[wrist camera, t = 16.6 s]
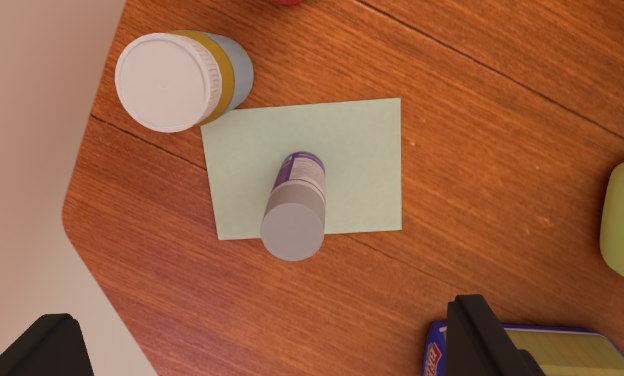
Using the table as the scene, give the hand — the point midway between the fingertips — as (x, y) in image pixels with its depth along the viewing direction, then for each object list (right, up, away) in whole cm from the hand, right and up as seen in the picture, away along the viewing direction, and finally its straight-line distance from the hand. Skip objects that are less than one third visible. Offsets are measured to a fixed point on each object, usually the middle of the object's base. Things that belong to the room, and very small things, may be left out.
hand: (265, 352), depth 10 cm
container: (0, +6, +33) cm, 33 cm away
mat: (0, +6, +33) cm, 33 cm away
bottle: (-8, +15, +30) cm, 35 cm away
